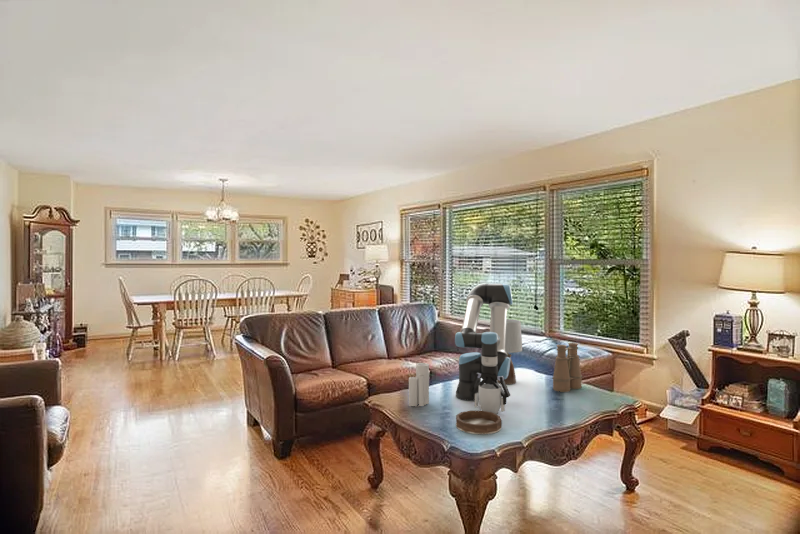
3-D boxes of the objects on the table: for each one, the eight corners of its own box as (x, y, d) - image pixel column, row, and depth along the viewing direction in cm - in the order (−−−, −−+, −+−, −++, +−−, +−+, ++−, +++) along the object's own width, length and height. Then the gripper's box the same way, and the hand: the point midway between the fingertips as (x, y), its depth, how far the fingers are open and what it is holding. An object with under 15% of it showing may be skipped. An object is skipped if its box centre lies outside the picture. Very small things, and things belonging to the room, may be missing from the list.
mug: (473, 407, 235) (473, 381, 234) (495, 406, 236) (495, 380, 236) (482, 417, 220) (482, 389, 220) (505, 416, 221) (505, 388, 221)
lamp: (493, 386, 274) (493, 322, 273) (488, 378, 292) (488, 318, 292) (525, 386, 273) (525, 322, 272) (518, 378, 292) (518, 318, 291)
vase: (421, 400, 247) (421, 362, 246) (432, 403, 242) (432, 364, 241) (406, 405, 239) (406, 366, 238) (417, 408, 234) (417, 368, 233)
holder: (447, 428, 206) (447, 419, 206) (467, 415, 222) (467, 407, 222) (491, 437, 195) (491, 428, 195) (508, 423, 212) (508, 415, 211)
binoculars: (563, 393, 259) (563, 347, 259) (548, 389, 267) (548, 345, 267) (585, 387, 271) (586, 343, 271) (570, 383, 279) (570, 341, 279)
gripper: (462, 363, 230) (462, 406, 230) (511, 369, 217) (511, 415, 217) (469, 360, 237) (469, 402, 237) (517, 366, 223) (517, 411, 223)
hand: (489, 408), depth 227 cm, fingers open, 13 cm apart
